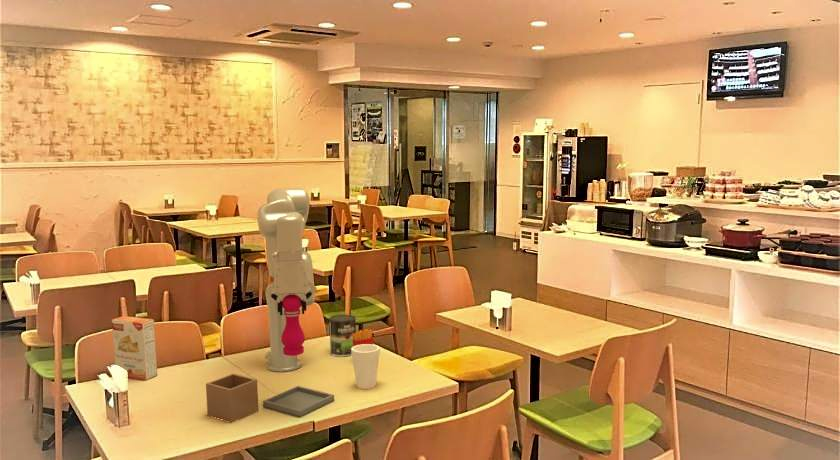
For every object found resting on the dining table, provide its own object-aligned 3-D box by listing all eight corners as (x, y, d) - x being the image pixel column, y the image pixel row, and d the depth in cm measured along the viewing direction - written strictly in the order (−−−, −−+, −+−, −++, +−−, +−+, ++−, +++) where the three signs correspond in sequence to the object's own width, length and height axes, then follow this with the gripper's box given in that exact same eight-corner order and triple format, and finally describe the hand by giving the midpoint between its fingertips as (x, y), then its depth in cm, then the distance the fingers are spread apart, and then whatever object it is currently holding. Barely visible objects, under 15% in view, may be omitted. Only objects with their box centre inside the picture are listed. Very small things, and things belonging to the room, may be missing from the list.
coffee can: (360, 354, 263) (359, 318, 261) (335, 358, 259) (334, 322, 257) (350, 347, 272) (349, 313, 271) (326, 351, 268) (325, 316, 266)
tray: (263, 407, 212) (262, 400, 211) (298, 391, 224) (297, 385, 224) (300, 417, 203) (299, 411, 203) (334, 400, 216) (334, 394, 216)
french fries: (369, 357, 259) (369, 326, 258) (375, 360, 256) (374, 329, 255) (350, 362, 254) (350, 330, 252) (356, 364, 251) (355, 333, 249)
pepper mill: (283, 349, 215) (280, 287, 212) (306, 348, 215) (304, 286, 213) (280, 356, 208) (277, 292, 205) (304, 356, 208) (302, 292, 205)
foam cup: (375, 391, 224) (375, 353, 222) (348, 389, 225) (347, 351, 224) (383, 381, 233) (382, 344, 231) (357, 380, 235) (356, 343, 233)
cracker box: (114, 376, 241) (110, 319, 239) (127, 371, 247) (124, 315, 244) (145, 381, 236) (141, 322, 234) (158, 375, 242) (154, 318, 239)
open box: (207, 415, 206) (205, 383, 204) (234, 404, 214) (233, 373, 213) (231, 423, 200) (229, 390, 199) (258, 411, 209) (257, 379, 207)
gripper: (260, 259, 202) (263, 318, 205) (319, 257, 205) (321, 315, 208) (261, 255, 209) (264, 312, 212) (318, 253, 213) (320, 309, 215)
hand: (292, 313), depth 210 cm, fingers closed on pepper mill, 6 cm apart
